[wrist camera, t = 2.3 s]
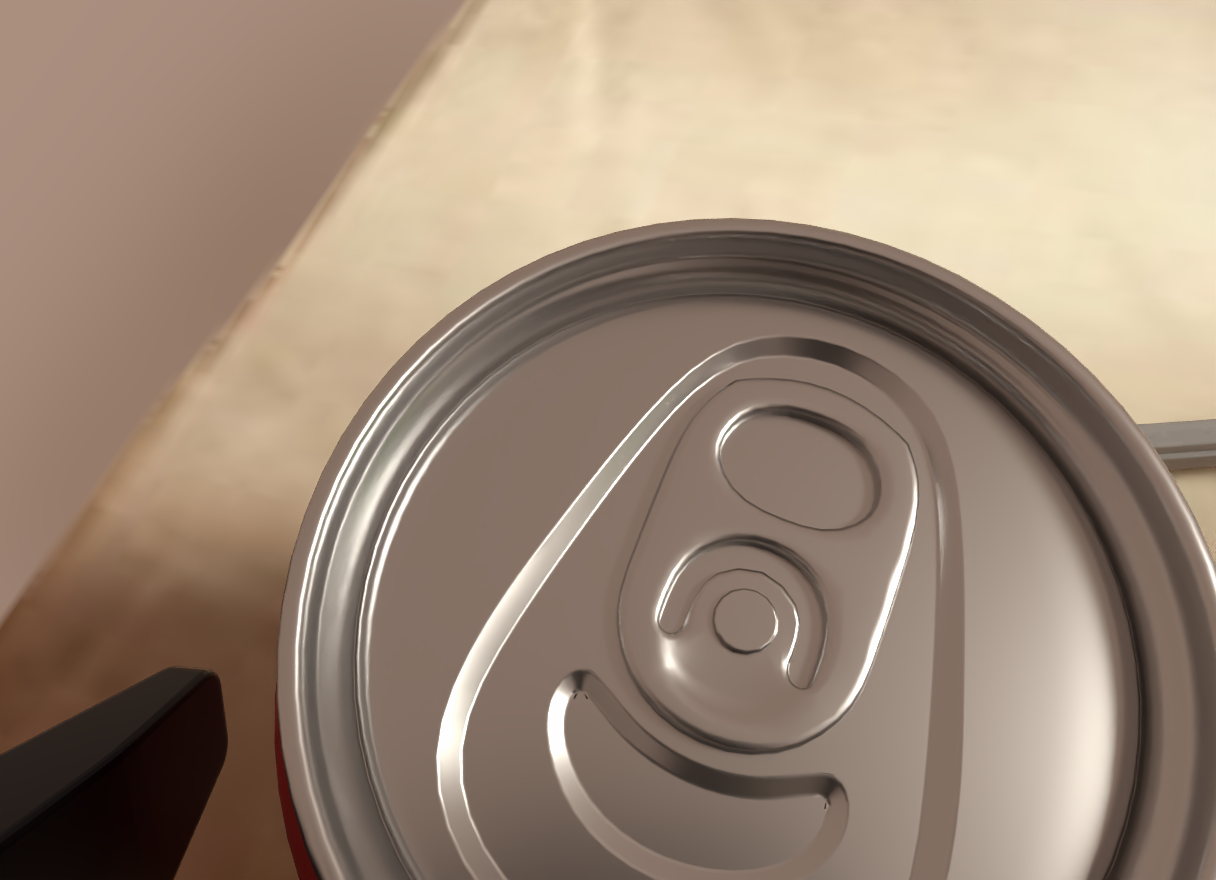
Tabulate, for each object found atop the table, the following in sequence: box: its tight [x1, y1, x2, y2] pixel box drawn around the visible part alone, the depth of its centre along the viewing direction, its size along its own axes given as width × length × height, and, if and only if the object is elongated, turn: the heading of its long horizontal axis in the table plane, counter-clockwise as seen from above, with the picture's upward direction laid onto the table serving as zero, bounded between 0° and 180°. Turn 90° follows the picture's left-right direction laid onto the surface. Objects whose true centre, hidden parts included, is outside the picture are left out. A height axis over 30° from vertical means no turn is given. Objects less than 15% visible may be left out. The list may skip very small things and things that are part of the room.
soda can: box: [275, 218, 1216, 880], centre depth 10 cm, size 7×7×12 cm
